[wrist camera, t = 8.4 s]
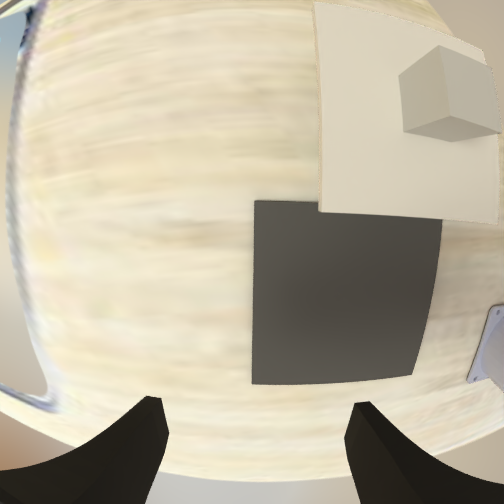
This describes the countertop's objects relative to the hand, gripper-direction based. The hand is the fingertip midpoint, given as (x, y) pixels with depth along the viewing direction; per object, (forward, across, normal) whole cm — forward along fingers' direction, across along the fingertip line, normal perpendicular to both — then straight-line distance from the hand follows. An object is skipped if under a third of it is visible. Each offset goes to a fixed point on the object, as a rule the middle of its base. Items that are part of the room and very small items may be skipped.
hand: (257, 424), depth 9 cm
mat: (+10, -6, -1) cm, 12 cm away
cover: (+6, -8, -13) cm, 16 cm away
